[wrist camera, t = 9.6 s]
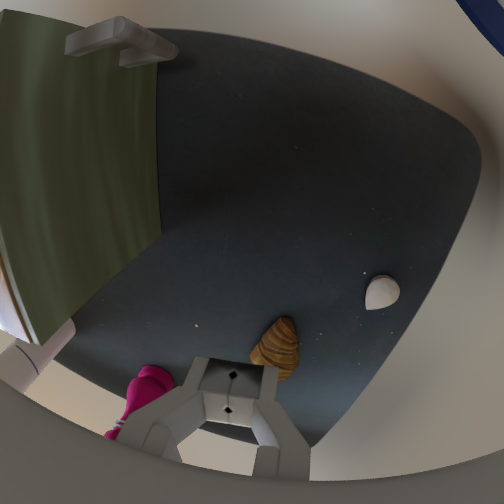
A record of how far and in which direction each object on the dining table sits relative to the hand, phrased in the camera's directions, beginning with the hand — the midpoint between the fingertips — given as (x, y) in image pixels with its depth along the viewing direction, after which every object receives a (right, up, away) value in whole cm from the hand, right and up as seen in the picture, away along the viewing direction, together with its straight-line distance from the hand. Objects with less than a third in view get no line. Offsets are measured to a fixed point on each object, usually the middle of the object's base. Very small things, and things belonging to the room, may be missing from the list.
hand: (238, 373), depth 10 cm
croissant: (+4, -9, +29) cm, 31 cm away
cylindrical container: (-36, -9, +36) cm, 51 cm away
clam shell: (+16, 0, +24) cm, 28 cm away
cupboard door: (-8, +16, +20) cm, 27 cm away
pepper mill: (-16, -18, +37) cm, 44 cm away
